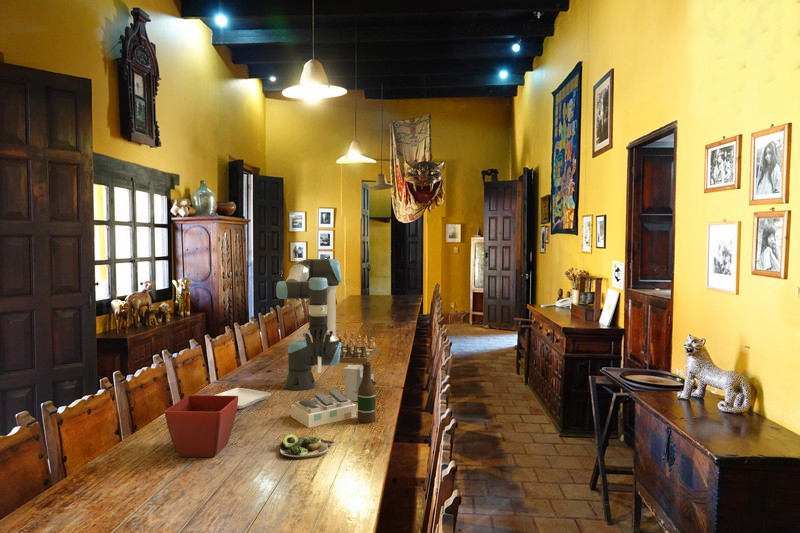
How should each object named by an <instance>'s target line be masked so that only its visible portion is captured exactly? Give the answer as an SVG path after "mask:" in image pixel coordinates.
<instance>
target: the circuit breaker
mask: <svg viewBox="0 0 800 533" xmlns="http://www.w3.org/2000/svg"><path fill="white" fill-rule="evenodd" d="M342 377H343V378H344V389H343V390H342V391H343V392H342V395H343V396H344V397H345V398H346V399H348V400H351V401H352V402H358V388H359V386H360V384H361V382H362V378H363V364H362V365H361V364H360V365H359V364H347V365H346V366H344V368H343V372H342ZM371 381H372V383H373V384H374V386H375V385H376V384H377V381H375V379H374V373H371Z"/></svg>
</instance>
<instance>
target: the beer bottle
mask: <svg viewBox="0 0 800 533" xmlns="http://www.w3.org/2000/svg"><path fill="white" fill-rule="evenodd" d="M362 365H363V378H362V382H361V384H360V386H359V388H358V401H357V422H359V423H361V424H371V423H374V422H376V402H377V401H376V396H377V395H376V386H375V385H374V384H373V383H372V381H371V374H372V371H371V370H372V368H371V366H372V362H370V361H369V362H364V363H363V364H362Z"/></svg>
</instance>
